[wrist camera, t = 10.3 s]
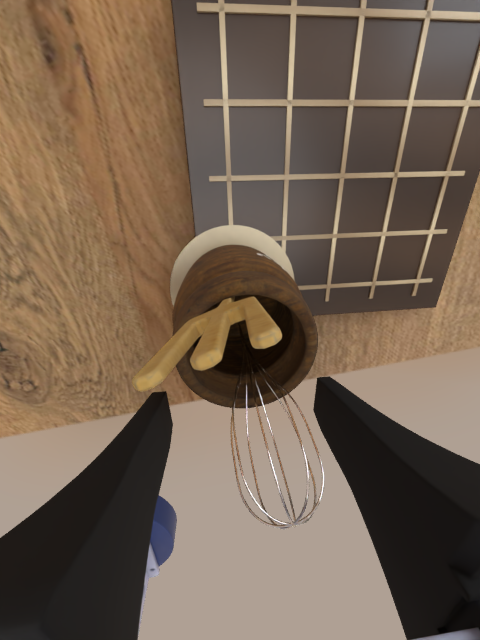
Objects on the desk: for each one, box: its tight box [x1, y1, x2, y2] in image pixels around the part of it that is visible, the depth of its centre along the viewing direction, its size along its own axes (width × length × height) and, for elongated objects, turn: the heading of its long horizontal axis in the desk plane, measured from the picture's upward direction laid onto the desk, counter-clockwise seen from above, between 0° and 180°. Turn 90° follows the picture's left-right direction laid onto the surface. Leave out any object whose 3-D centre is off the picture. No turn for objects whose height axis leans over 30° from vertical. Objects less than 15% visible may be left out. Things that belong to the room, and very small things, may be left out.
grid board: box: [170, 0, 480, 316], centre depth 13 cm, size 18×18×1 cm
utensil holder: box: [132, 245, 324, 529], centre depth 9 cm, size 6×6×12 cm
